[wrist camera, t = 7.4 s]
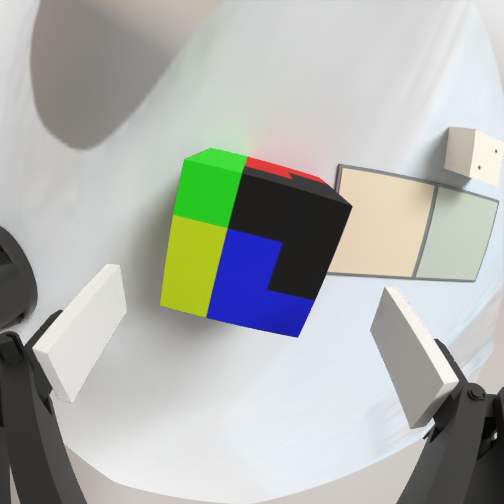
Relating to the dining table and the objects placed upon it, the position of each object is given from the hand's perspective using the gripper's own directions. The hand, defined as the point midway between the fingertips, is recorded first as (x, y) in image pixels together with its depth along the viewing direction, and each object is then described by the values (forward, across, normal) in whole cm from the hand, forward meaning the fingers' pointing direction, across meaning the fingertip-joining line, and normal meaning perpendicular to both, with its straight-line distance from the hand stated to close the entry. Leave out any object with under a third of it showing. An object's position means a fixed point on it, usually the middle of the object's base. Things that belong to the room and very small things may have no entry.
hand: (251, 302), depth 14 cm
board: (+15, +18, 0) cm, 23 cm away
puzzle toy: (+15, 0, 0) cm, 15 cm away
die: (+15, +21, +10) cm, 27 cm away
